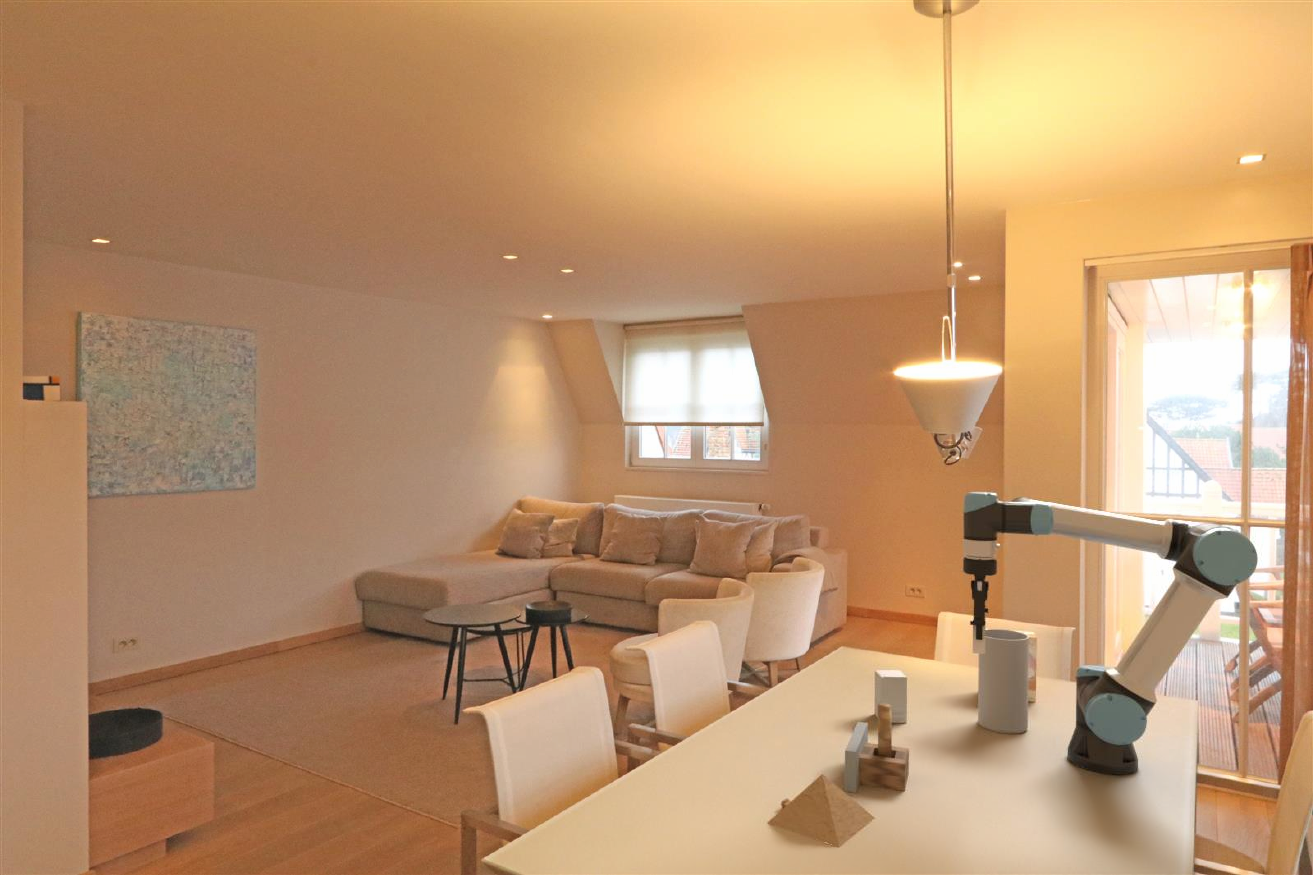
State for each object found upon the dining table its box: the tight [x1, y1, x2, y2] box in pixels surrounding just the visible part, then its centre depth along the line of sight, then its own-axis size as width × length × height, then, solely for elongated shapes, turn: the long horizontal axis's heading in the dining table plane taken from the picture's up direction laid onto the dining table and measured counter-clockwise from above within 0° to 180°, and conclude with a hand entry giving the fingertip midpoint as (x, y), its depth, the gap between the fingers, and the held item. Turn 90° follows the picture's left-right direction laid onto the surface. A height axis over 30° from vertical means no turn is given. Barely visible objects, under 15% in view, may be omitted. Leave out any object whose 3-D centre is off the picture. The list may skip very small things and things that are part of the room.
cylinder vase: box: [977, 628, 1029, 735], centre depth 230 cm, size 12×12×25 cm
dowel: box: [877, 703, 893, 758], centre depth 194 cm, size 3×3×14 cm
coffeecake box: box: [985, 628, 1038, 703], centre depth 256 cm, size 15×7×20 cm, turn 73°
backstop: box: [844, 721, 869, 794], centre depth 197 cm, size 2×20×9 cm, turn 159°
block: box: [859, 742, 910, 792], centre depth 195 cm, size 10×10×6 cm
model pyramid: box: [767, 773, 876, 848], centre depth 174 cm, size 17×17×10 cm
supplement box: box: [873, 669, 908, 724], centre depth 236 cm, size 7×7×13 cm
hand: (979, 646), depth 202 cm, fingers open, 13 cm apart
